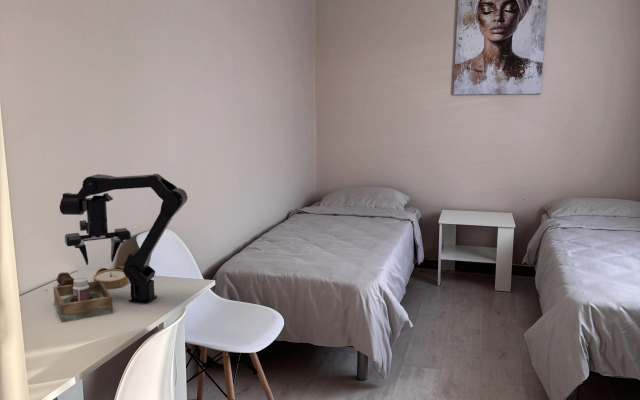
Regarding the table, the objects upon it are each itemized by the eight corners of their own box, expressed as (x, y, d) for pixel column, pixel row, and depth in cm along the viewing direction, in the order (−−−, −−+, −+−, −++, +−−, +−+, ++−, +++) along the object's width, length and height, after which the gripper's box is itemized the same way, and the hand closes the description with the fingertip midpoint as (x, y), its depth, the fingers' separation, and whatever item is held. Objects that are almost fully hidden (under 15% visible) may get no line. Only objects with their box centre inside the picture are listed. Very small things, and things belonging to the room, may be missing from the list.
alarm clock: (92, 283, 178) (94, 263, 192) (93, 296, 180) (95, 275, 193) (128, 280, 182) (127, 260, 195) (128, 292, 184) (128, 273, 197)
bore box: (101, 294, 175) (100, 280, 174) (112, 312, 160) (112, 296, 159) (54, 302, 168) (53, 287, 167) (61, 322, 153) (60, 305, 152)
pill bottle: (92, 302, 168) (90, 277, 167) (88, 308, 164) (86, 281, 162) (76, 303, 168) (74, 277, 166) (71, 308, 163) (70, 282, 162)
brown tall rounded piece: (65, 286, 189) (72, 297, 177) (51, 281, 186) (57, 292, 174) (73, 271, 190) (80, 281, 178) (59, 266, 187) (66, 276, 175)
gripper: (122, 208, 178) (124, 253, 181) (61, 213, 169) (64, 261, 171) (130, 214, 169) (132, 261, 172) (65, 219, 159) (69, 269, 162)
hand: (99, 263), depth 169 cm, fingers open, 7 cm apart
